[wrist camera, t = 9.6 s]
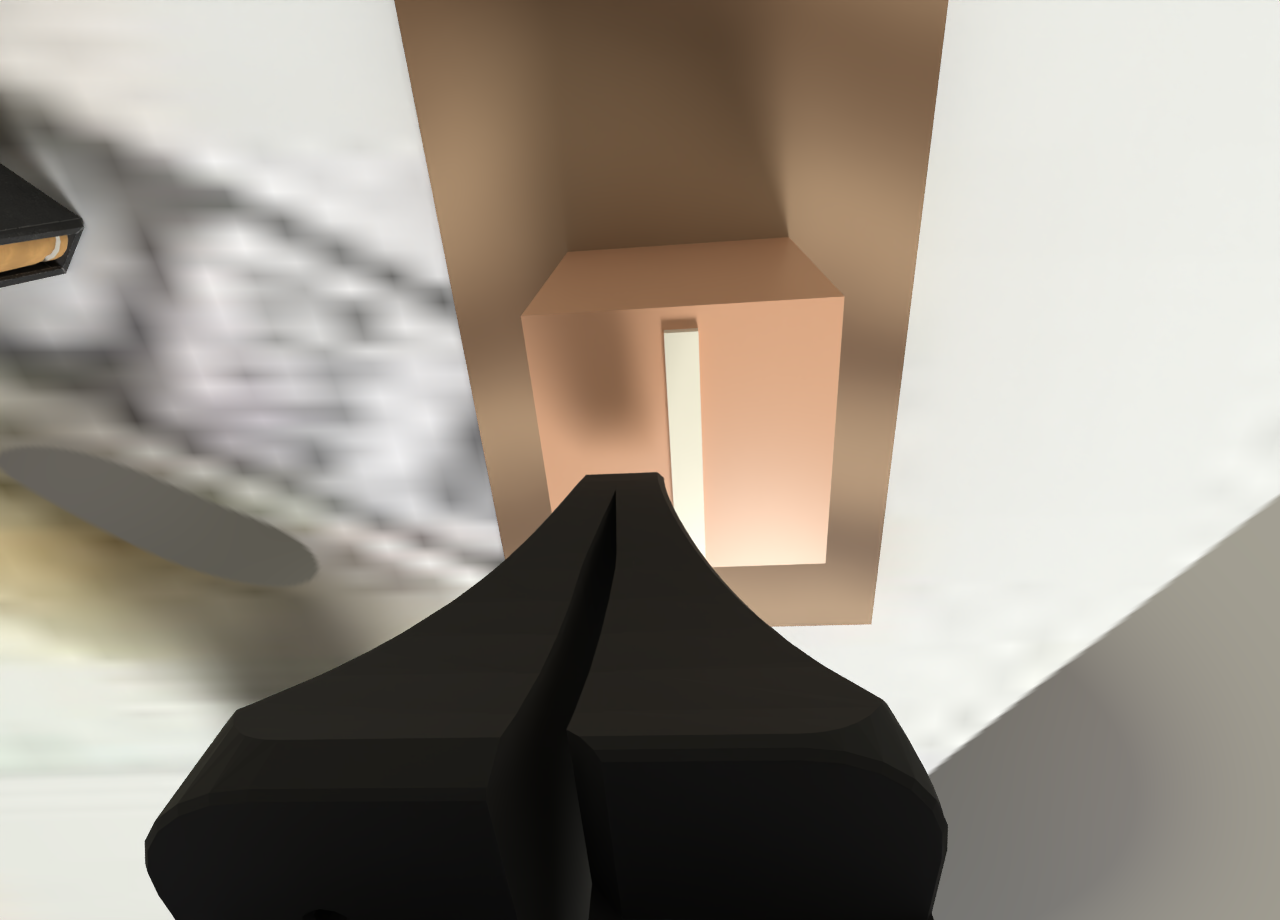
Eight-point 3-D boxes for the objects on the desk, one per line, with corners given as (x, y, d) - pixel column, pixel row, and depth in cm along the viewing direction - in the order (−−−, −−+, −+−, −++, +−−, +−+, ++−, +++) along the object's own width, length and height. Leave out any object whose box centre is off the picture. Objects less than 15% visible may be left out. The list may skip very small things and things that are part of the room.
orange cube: (567, 251, 17) (518, 319, 11) (788, 237, 17) (847, 299, 11) (590, 447, 20) (559, 578, 14) (782, 438, 19) (827, 569, 14)
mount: (859, 595, 24) (909, 721, 19) (527, 604, 24) (492, 727, 19) (940, -135, 14) (1079, -262, 9) (400, -82, 15) (272, -174, 10)
